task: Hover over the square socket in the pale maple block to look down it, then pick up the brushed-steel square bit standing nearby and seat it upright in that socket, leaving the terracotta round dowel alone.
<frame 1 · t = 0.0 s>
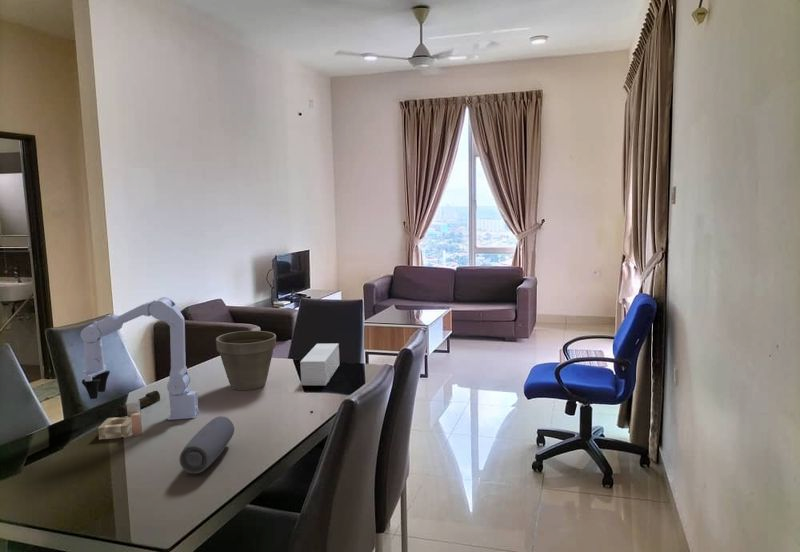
hand: (97, 395, 200), 10 cm above the table, tool pointing down, fingers open, 7 cm apart
round dowel: (137, 434, 189), on the table
plant pot: (249, 385, 240), on the table
hand tool: (140, 408, 216), on the table
socket block: (118, 433, 191), on the table
square bit: (134, 423, 200), on the table
bluetooth speaker: (209, 460, 168), on the table
long white block: (321, 375, 254), on the table
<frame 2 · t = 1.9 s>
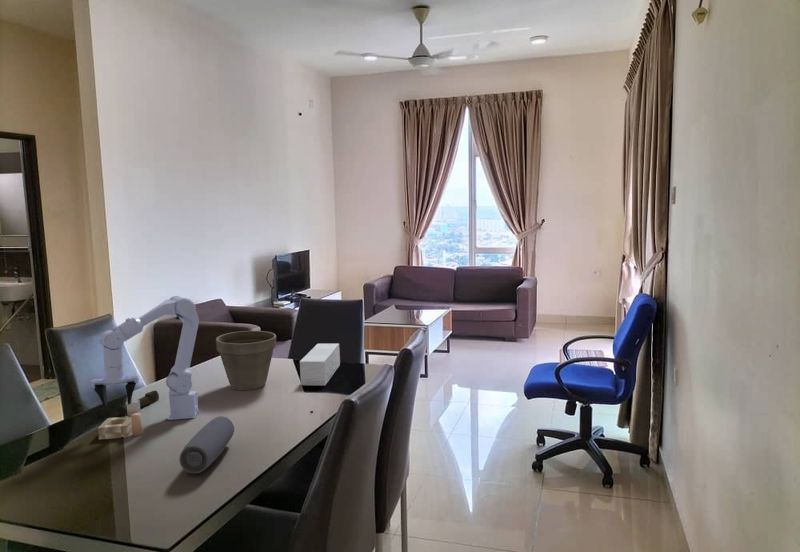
hand: (117, 404, 190), 10 cm above the table, tool pointing down, fingers open, 7 cm apart
nothing on the table moved.
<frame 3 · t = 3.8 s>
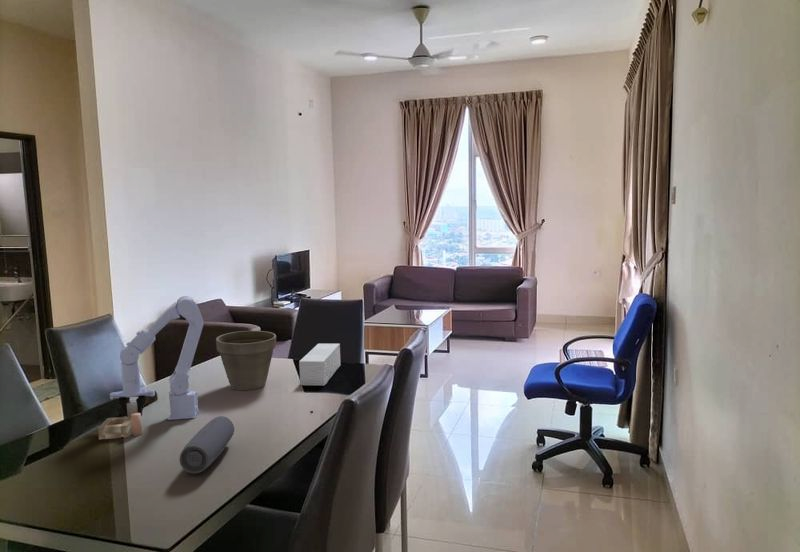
hand: (134, 416, 199), 2 cm above the table, tool pointing down, fingers closed on square bit, 3 cm apart
square bit: (134, 423, 200), on the table, touching gripper
everything else where it was.
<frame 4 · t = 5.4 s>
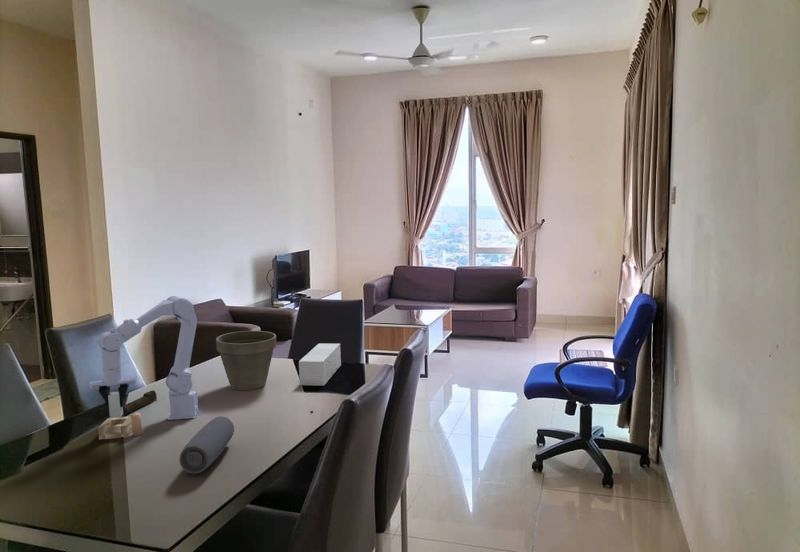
hand: (115, 406, 190), 9 cm above the table, tool pointing down, fingers closed on square bit, 3 cm apart
square bit: (116, 415, 190), point 6 cm above the table, touching gripper
everything else where it was.
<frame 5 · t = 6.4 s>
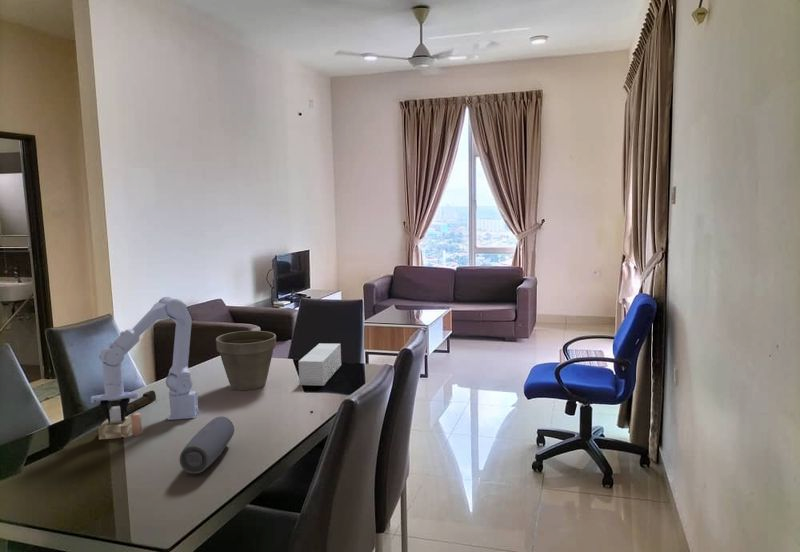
hand: (116, 420, 190), 4 cm above the table, tool pointing down, fingers closed on square bit, 3 cm apart
square bit: (117, 430, 191), point 1 cm above the table, touching gripper
when the fingers open (4 cm above the table, at t = 7.2 s): square bit stays where it is, resting in socket block.
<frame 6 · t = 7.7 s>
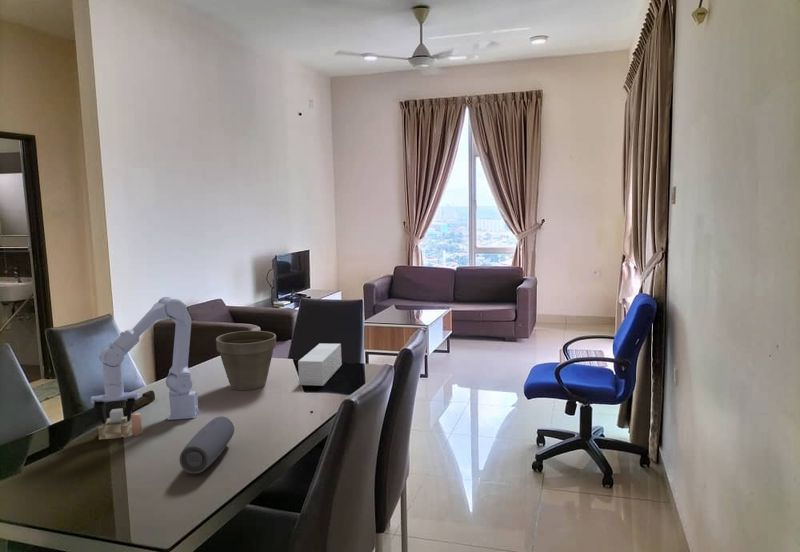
hand: (117, 421, 190), 4 cm above the table, tool pointing down, fingers open, 7 cm apart
square bit: (118, 432, 191), resting in socket block
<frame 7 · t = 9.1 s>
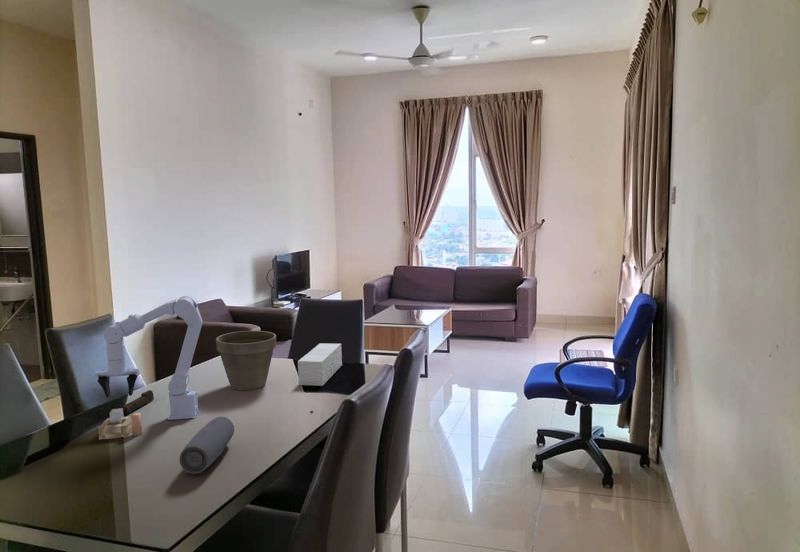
hand: (119, 395, 199), 10 cm above the table, tool pointing down, fingers open, 7 cm apart
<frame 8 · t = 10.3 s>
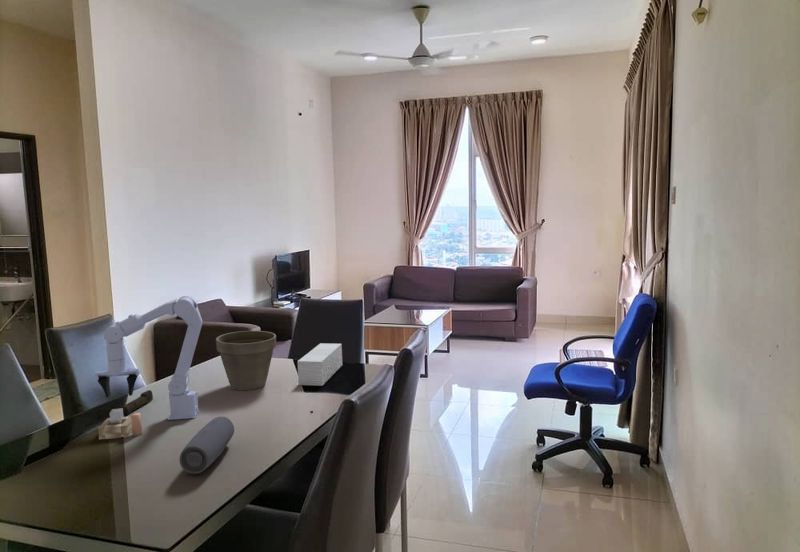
hand: (119, 395, 200), 10 cm above the table, tool pointing down, fingers open, 7 cm apart
at the end: square bit 0.2 cm off-centre on the socket block, point 0.0 cm above the socket block's base; square bit tilted 0°; the gripper is holding nothing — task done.
